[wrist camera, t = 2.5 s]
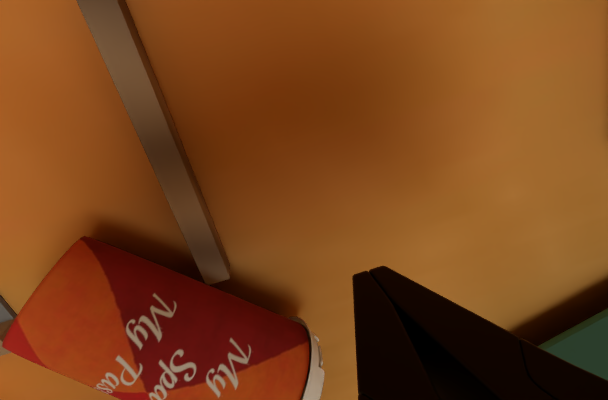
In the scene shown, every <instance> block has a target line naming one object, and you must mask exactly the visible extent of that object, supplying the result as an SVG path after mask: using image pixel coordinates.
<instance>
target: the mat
mask: <svg viewBox="0 0 608 400" xmlns="http://www.w3.org/2000/svg"><path fill="white" fill-rule="evenodd" d="M16 317H17V315H16V314H15V313H14V311H13V310H12V309H11V308H10V307H9V305H8V304H7V303H6V302H5V301H4V299H3V298H2V297H1V296H0V356H1V355H5V354H8V353H11V352H10V351H8V350H6V349H5V348H3V347H2V343H3V340H4V338H5V336H6V334H7V332H8V330H9V329H10V327H11V325H12V324H13V322H14V320H15V319H16Z"/></svg>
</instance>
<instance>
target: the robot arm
mask: <svg viewBox="0 0 608 400" xmlns="http://www.w3.org/2000/svg"><path fill="white" fill-rule="evenodd" d="M353 299H354V319H355V340H356V360H357V380H358V394H359V396H358V400H608V380H606V379H603V378H601V377H599V376H597V375H595V374H592V373H590V372H588V371H586V370H584V369H582V368H579V367H577V366H575V365H573V364H571V363H569V362H567V361H565V360H563V359H561V358H559V357H557V356H555V355H553V354H551V353H549V352H547V351H545V350H543V349H541V348H539V347H537V346H536V345H534V344H532V343H530V342H528V341H526V340H524V339H519V338H518V336H516V335H514V334H513V333H511V332H509V331H507V330H505V329H503V328H501V327H499V326H497V325H496V324H494V323H492V322H490V321H488V320H486V319H484V318H482V317H480V316H478V315H477V314H475V313H473V312H471V311H469V310H467V309H465V308H463V307H461V306H460V305H458V304H456V303H454V302H452V301H450V300H448V299H446V298H444V297H443V296H441V295H439V294H437V293H435V292H433V291H431V290H429V289H427V288H426V287H424V286H422V285H420V284H418V283H416V282H414V281H412V280H410V279H409V278H407V277H405V276H403V275H401V274H399V273H397V272H395V271H393V270H392V269H390V268H388V267H386V266H380V267H377V268H373V269H371V270H369V272H368V271H364V272H361V273H357V274H354V275H353Z"/></svg>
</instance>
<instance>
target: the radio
mask: <svg viewBox="0 0 608 400" xmlns="http://www.w3.org/2000/svg"><path fill="white" fill-rule="evenodd" d="M537 347H539V348H541V349H543V350H545V351H547V352H549V353H551V354H553V355H555V356H557V357H559V358H561V359H563V360H565V361H567V362H569V363H571V364H573V365H575V366H577V367H579V368H582V369H584V370H586V371H588V372H590V373H592V374H595V375H597V376H599V377H601V378H603V379H606V380H608V308H607V309H605V310H603V311H602V312H600V313H598V314H596V315H594V316H592V317H591V318H589V319H587V320H585V321H583V322H581V323H579V324H578V325H576V326H574V327H572V328H570V329H568V330H567V331H565V332H563V333H561V334H559V335H557V336H556V337H554V338H552V339H550V340H548V341H546V342H544V343H543V344H541V345H539V346H537Z"/></svg>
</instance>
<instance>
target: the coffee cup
mask: <svg viewBox="0 0 608 400" xmlns="http://www.w3.org/2000/svg"><path fill="white" fill-rule="evenodd" d="M318 341H319V339H318V337H317V336H316V335H315V334H314V333H313V332H312V331H310V328H309V327H308V325H307V324H306V322H305V321H304V320H303V319H301V318H299V317H289V318H286V317H284V316H281V315H279V314H276V313H274V312H272V311H269V310H267V309H264V308H262V307H259V306H257V305H255V304H252V303H250V302H247V301H245V300H243V299H240V298H238V297H236V296H233V295H231V294H228V293H226V292H224V291H221V290H219V289H216V288H214V287H212V286H209V285H207V284H204V283H202V282H199V281H197V280H195V279H192V278H190V277H187V276H185V275H183V274H180V273H178V272H175V271H173V270H170V269H168V268H166V267H163V266H161V265H158V264H156V263H153V262H151V261H148V260H146V259H144V258H141V257H139V256H136V255H134V254H131V253H129V252H126V251H124V250H121V249H119V248H116V247H114V246H111V245H109V244H106V243H103V242H101V241H98V240H95V239H92V238H89V237H86V236H84V237H82V238H80V239H79V240H78V241H77V242H76V243H75V244H73V245H72V246H71V247H70V249H69V250H68V251H67V252H66V253H65V254H64V255H63V256H62V257H61V258H60V260H59V261H58V262H57V263H56V264H55V265H54V267H53V268H52V269H51V270H50V272H49V273H48V274H47V275H46V277H45V278H44V279H43V280H42V282H41V283H40V284H39V286H38V287H37V288H36V290H35V291H34V292H33V294H32V295H31V297H30V298H29V299H28V301H27V302H26V304H25V305H24V307H23V308H22V309H21V311H20V312H19V314H18V316H17V317H16V319H15V320H14V322H13V324H12V325H11V327H10V329H9V330H8V332H7V334H6V336H5V338H4V340H3V343H2V347H3V348H5V349H6V350H8V351H10V352H12V353H14V354H17V355H19V356H21V357H23V358H25V359H27V360H30V361H32V362H34V363H36V364H39V365H41V366H43V367H45V368H48V369H50V370H52V371H55V372H57V373H59V374H62V375H64V376H67V377H69V378H71V379H74V380H76V381H78V382H81V383H83V384H85V385H88V386H90V387H93V388H95V389H97V390H100V391H102V392H105V393H107V394H109V395H112V396H114V397H117V398H119V399H121V400H320V397H321V393H322V388H323V383H324V373H325V372H324V370H323V369H321V366H322V365H323V360H322V353H321V347H320V346H318V343H317V342H318Z"/></svg>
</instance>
